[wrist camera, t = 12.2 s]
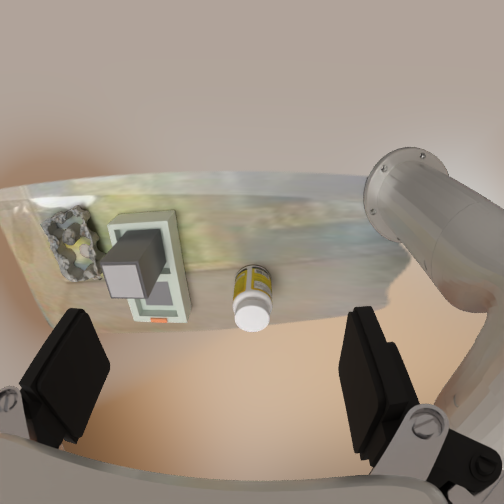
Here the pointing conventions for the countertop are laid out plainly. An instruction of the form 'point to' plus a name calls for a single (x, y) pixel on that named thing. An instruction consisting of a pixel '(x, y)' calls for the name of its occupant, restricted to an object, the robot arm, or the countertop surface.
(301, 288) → the countertop surface
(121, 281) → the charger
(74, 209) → the egg carton
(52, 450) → the robot arm
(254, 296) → the supplement bottle
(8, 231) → the countertop surface
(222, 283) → the countertop surface
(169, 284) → the power strip
